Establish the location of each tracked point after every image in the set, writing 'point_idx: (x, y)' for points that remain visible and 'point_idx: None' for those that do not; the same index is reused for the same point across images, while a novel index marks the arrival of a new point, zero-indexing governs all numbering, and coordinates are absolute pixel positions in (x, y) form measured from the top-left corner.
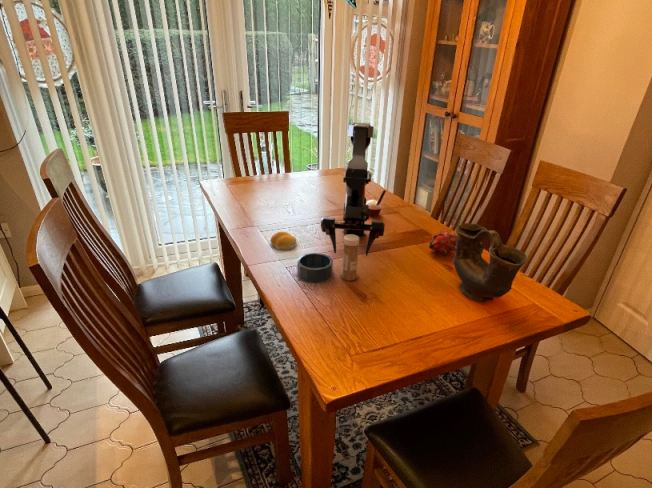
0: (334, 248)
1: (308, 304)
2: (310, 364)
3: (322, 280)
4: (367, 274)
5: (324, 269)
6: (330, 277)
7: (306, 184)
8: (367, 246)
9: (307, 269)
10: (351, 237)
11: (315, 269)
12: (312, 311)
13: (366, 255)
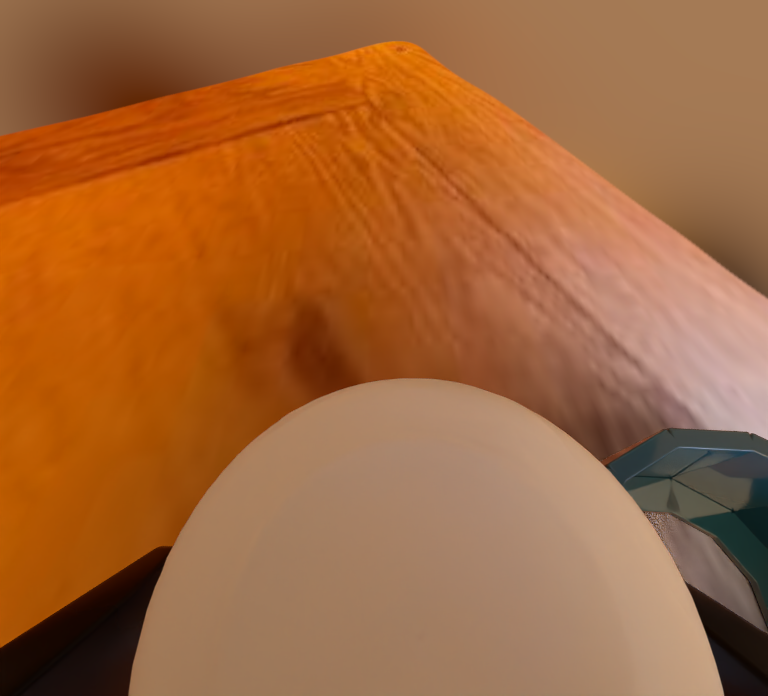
0: (692, 596)
1: (562, 269)
2: (463, 81)
3: None
4: None
5: (611, 461)
6: None
7: None
8: (54, 643)
9: (747, 434)
10: (422, 593)
11: (682, 430)
12: (527, 233)
13: None
